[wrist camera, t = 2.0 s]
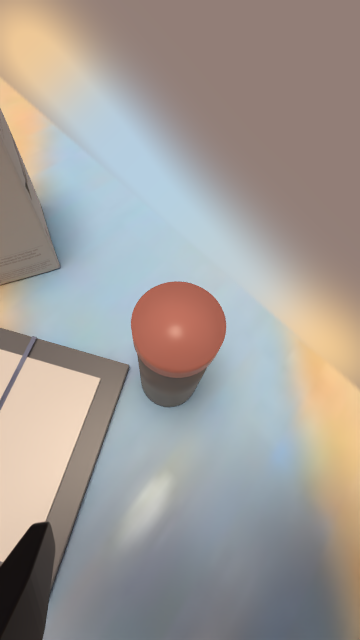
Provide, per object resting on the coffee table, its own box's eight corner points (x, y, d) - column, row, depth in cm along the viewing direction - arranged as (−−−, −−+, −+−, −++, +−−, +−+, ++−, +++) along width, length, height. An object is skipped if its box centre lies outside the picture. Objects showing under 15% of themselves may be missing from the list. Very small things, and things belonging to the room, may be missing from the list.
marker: (189, 415, 22) (214, 380, 13) (131, 398, 23) (117, 352, 13) (203, 360, 24) (234, 295, 15) (149, 344, 24) (147, 271, 15)
